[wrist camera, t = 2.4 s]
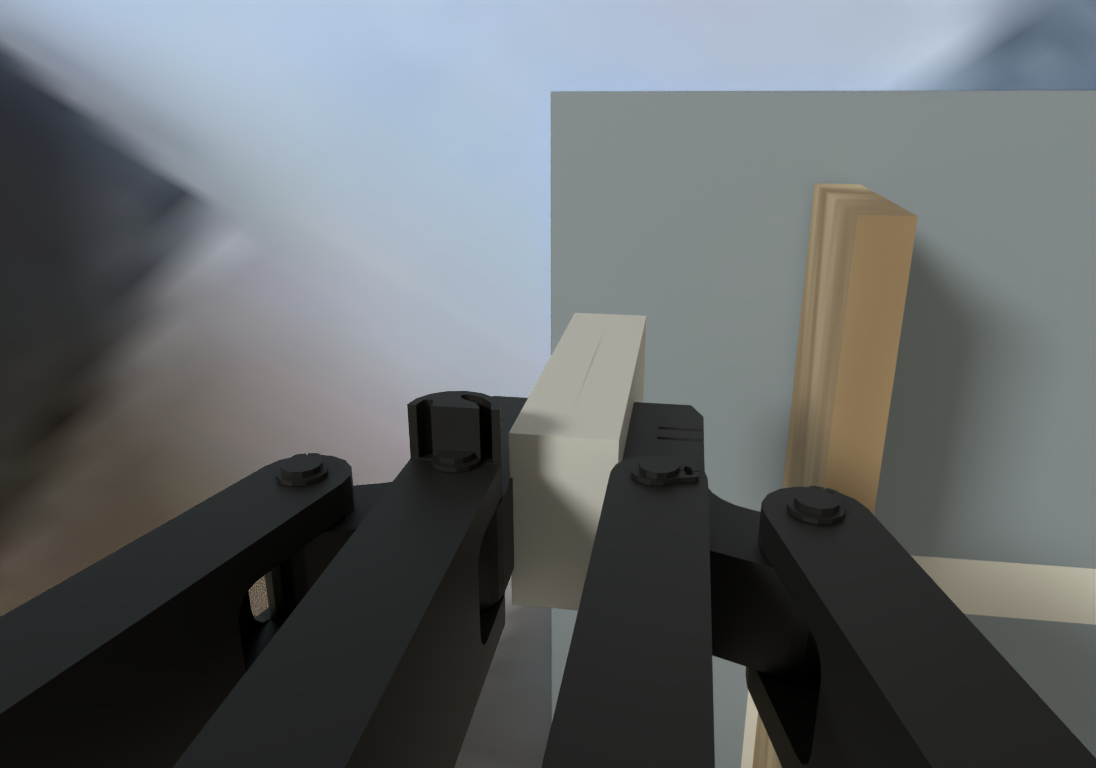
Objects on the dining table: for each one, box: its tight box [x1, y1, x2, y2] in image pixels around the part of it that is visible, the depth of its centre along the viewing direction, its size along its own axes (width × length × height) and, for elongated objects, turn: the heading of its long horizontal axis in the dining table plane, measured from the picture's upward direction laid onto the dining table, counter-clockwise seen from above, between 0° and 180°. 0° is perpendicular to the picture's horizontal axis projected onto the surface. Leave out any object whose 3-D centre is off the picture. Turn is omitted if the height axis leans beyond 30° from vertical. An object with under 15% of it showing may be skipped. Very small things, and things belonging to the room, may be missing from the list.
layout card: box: [551, 91, 1096, 768], centre depth 27 cm, size 22×31×1 cm
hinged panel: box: [783, 183, 918, 515], centre depth 22 cm, size 1×13×7 cm, turn 0°
